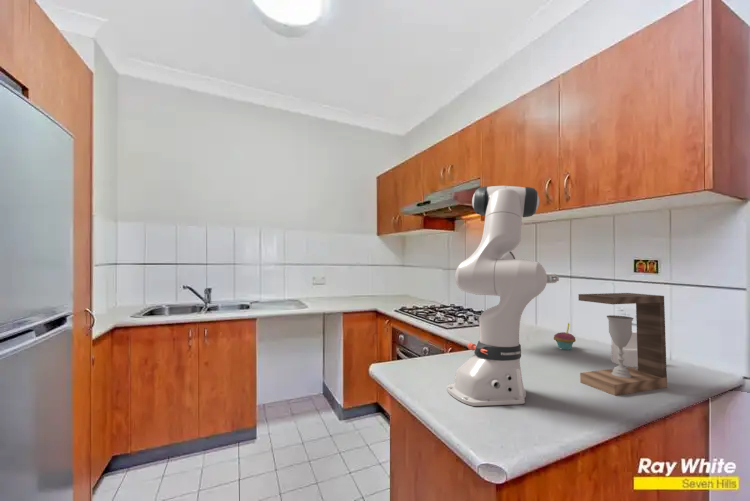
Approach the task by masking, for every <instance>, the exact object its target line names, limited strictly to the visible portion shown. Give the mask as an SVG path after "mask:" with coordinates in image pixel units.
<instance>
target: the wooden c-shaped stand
mask: <svg viewBox="0 0 750 501" xmlns="http://www.w3.org/2000/svg"><path fill="white" fill-rule="evenodd" d="M578 301H581V302H589V303H598V304H606V305H607V304H608V305H626V304H627V305H630V304H631V305H633V304H635V314H636V315H635V320H636V332H637V355H638V367H631V366H626V367H625V366H624V367H625V368H627V369H628V370H629V373H630V375H631V377H630V378H624V377H618V376H615V375H613V374H611V373H612V372H613V369H614V368H609V369H601V370H600V369H599V370H593V371H584V372H580V373H579V381H580V383H581V384H584V385H587V386H589V387H591V388H594V389H597V390H599V391H602V392H604V393H608V394H610V395H611V396H612V395H613V396H620V395H626V394H634V393H638V392H640V393H641V392H645V391H652V390H658V389H659V390H660V389H665V388H668V376H667V375H668V374H667V371H668V370H667V345H666V344H667V343H666V341H667V340H666V317H665V316H666V314H665V313H666V312H665V295H661V294H660V295H656V294H645V293H633V292H617V293H615V292H614V293H612V292H610V293H580V294H578Z"/></svg>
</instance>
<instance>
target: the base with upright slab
mask: <svg viewBox="0 0 750 501" xmlns="http://www.w3.org/2000/svg"><path fill="white" fill-rule="evenodd" d="M610 338H611V337H610ZM610 340H611V349H610V350H611V363H613V364H615V365H619V360H618V358H619V354H618V351H619V347H618V346H616V345H615V344H614V342H613V340H612V338H611V339H610ZM622 351H623V353H624V354H623V356H622V357H623V359H624V361H623V366H624V367H625V366H626V367H632V368H638V355H637V330H632V335H631V338H630V340H629V342H628V344H627V345H626V347H623V349H622Z"/></svg>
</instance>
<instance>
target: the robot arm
mask: <svg viewBox="0 0 750 501" xmlns="http://www.w3.org/2000/svg"><path fill="white" fill-rule="evenodd" d="M471 199H472V200H471V205H472V208H473V211H474V212H475V214H477V215H480V216H484V224H483V225H484V226H483V231H482V237H481V241H480V243H479V244H478V246H477V248H476V249H475V251H474V252H473V253H471V255H470V256H469V257H467V258H466V259H465V260H463V261H461V262H460V263H459V264H458V266H457V267H456V270H455V273H454V274H455V275H454V280H455V283H456V285H457V286H458V288H459V290H460V291H462V292H464V293H468V294H473V295H479V296H495V297H496V296H498V297H500V299H499V303H498V304H497V305H495V306H492V307H490V308H488V309H486V310H484V311H482V312H481V314H480V315H479V318H478V320H479V321H478V322H479V324H478V326H479V336H478V337H479V340H478V341H477V344H475V343H473V342H468V344H467V348H468V350H471V351H474V354H473V355H472V356H471V357H470V358H469V359H467V360H466V361H465V362H464V363H463V364H462V365H460V366H459V367H458V368H457V369H456V372H455V377H454V382H453V383H449V384H447V385H446V391H447V393H448V394H449V395H450V396H452V397H453V398H454V399H455V400H458V401H459V402H462V403H463V404H466V405H468V406H473V407H479V406H480V407H482V406H484V407H485V406H503V405H506V406H507V405H523V404H525V403H526V399H525V398H527V393H526V389H525V385H524V381H523V375H522V368H521V357H522V344H520V327H521V318H522V314H523V312H524V310H525V309H526V307H527V306H528V304H529V303H530V302H531V301H532V300H533V299H535V298H536V297H538V296H539V295H541V294H542V293H543V291H544V290H545V288H546V286H547V284H556V283H557V282H559V281H560V280H559V279H560V277H559V276H557V274H556V273H553V272H547V271H546V269H545V268H544V266H543V265H542V264H541V263H540V262H538V261H534V260H529V259H525V258H524V259H522V258H516V257H515V255H514V253H513V251H514V250H515V249H516V248H517V247H519V244H520V243H521V239H522V223H523V222H522V220H523V218H529V217H533V216H534V215H535V214H536V213H537V210H538V208H539V205H540V197H539V194H538V191H537V190H536V188H534V187H530V186H525V187H522V186H514V185H511V186H510V185H495V186H487V185H484V186H480V187H478V188H476V189H475V191H474V193H473V196H472V198H471Z"/></svg>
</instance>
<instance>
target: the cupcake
mask: <svg viewBox="0 0 750 501" xmlns="http://www.w3.org/2000/svg"><path fill="white" fill-rule="evenodd" d="M569 330H570V322H567V326H566V332H564V331H562V332H558V333H556V334H554V335H553V340H554V341H556V343H557V346H558V349H560V348H562V349H561V350H564V349H570V350H572V346H573V344H574V343H576V337H575V335H573V334H571V333H569Z"/></svg>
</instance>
